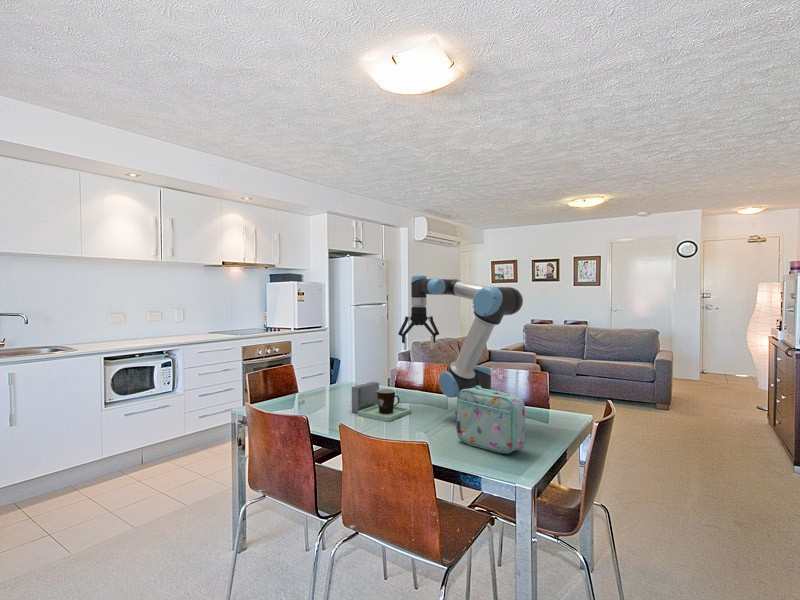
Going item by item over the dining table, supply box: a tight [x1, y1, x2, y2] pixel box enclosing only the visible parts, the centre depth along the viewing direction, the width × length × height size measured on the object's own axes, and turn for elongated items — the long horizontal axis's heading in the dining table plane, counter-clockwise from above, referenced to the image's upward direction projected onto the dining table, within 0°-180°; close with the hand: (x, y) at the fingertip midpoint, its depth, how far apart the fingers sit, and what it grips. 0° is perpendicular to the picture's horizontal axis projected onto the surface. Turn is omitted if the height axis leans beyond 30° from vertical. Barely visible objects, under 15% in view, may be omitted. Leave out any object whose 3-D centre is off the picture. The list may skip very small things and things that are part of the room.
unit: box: [351, 381, 380, 414], centre depth 215 cm, size 4×16×12 cm, turn 145°
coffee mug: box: [377, 388, 401, 414], centre depth 206 cm, size 12×9×10 cm
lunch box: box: [454, 386, 526, 454], centre depth 162 cm, size 27×10×21 cm, turn 45°
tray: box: [357, 405, 412, 423], centre depth 206 cm, size 18×18×2 cm
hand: (418, 349), depth 218 cm, fingers open, 13 cm apart
